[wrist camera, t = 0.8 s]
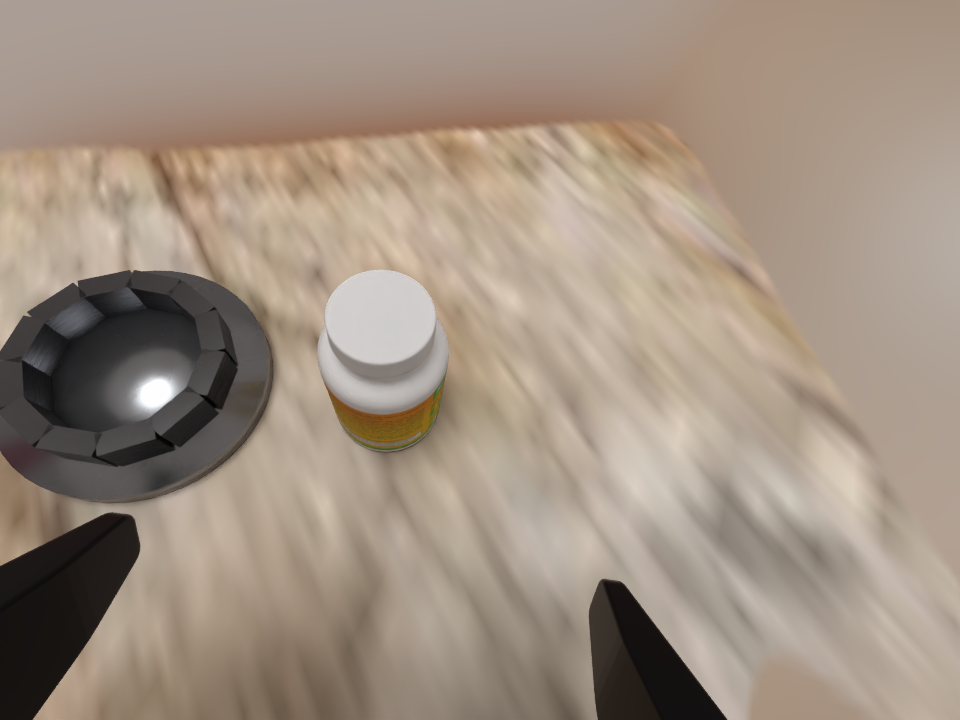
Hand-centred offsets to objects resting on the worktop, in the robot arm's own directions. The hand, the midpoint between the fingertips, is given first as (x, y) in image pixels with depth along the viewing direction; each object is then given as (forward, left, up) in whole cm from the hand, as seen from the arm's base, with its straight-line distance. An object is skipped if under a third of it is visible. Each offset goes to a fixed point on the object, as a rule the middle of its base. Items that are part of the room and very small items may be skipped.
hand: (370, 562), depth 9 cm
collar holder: (-1, +16, -15) cm, 22 cm away
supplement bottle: (+6, +6, -15) cm, 17 cm away
